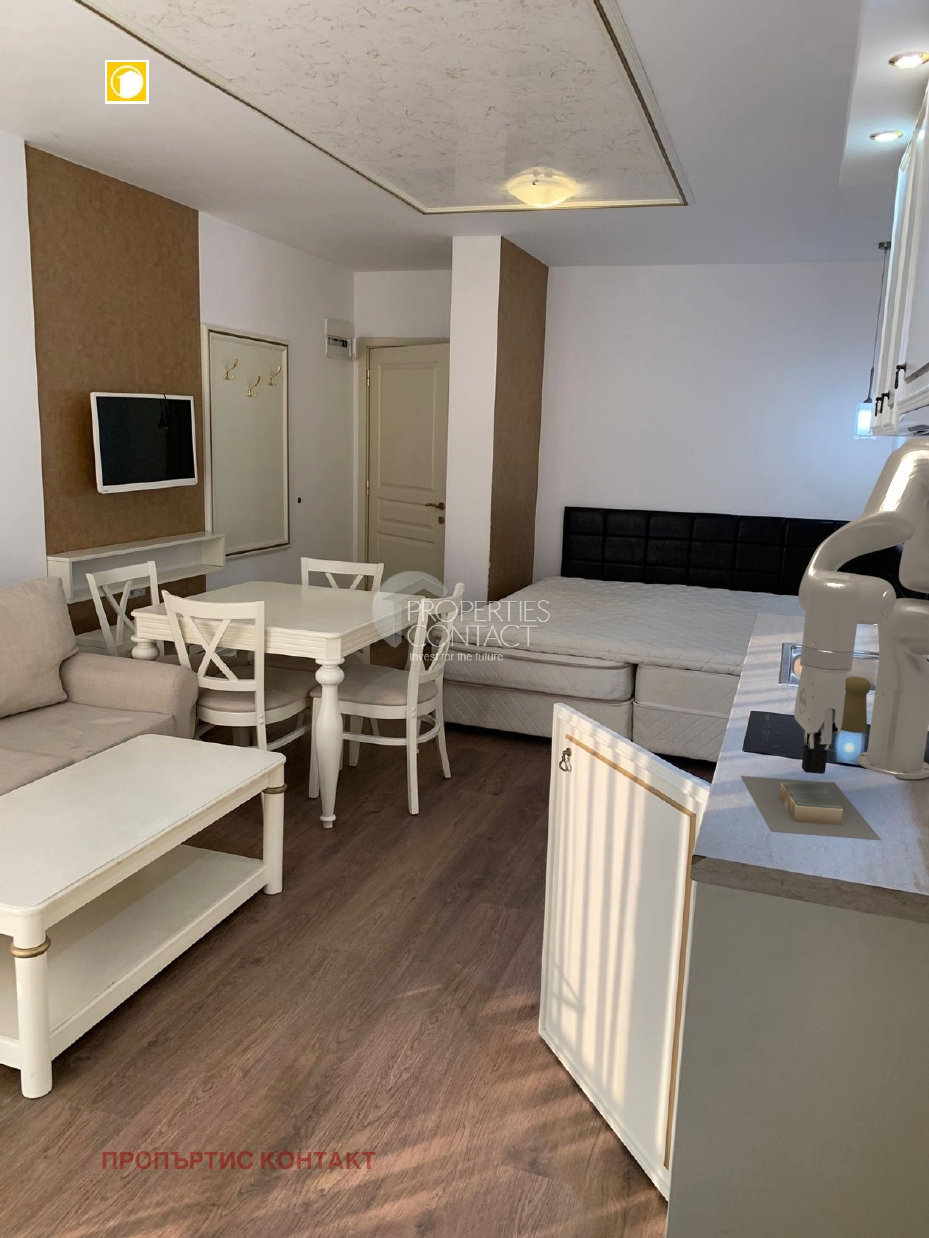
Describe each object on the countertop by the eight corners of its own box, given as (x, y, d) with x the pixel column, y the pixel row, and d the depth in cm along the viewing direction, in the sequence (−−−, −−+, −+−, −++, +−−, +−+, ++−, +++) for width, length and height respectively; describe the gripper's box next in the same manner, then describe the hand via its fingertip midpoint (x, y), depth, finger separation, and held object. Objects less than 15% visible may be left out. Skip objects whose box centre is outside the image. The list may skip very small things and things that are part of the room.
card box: (781, 781, 153) (796, 804, 144) (824, 784, 153) (843, 807, 143) (779, 797, 154) (794, 821, 144) (822, 800, 153) (841, 824, 143)
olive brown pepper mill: (859, 724, 200) (865, 674, 198) (872, 733, 194) (878, 681, 192) (831, 723, 200) (837, 673, 198) (843, 732, 194) (850, 680, 192)
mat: (740, 778, 164) (740, 775, 163) (834, 785, 162) (834, 782, 162) (770, 835, 140) (771, 831, 140) (881, 843, 139) (881, 839, 139)
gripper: (789, 646, 152) (777, 754, 155) (814, 668, 137) (800, 786, 141) (837, 649, 151) (824, 757, 155) (867, 671, 137) (852, 790, 140)
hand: (813, 771), depth 148 cm, fingers closed
